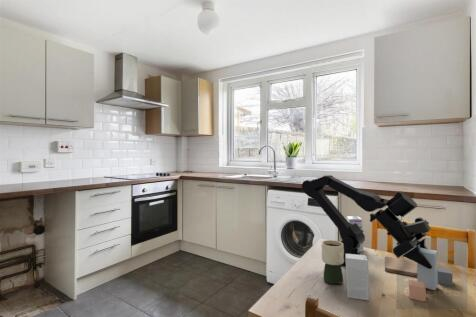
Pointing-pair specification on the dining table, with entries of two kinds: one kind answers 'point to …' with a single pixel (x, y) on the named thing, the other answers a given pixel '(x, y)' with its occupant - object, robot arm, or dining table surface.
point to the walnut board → (401, 266)
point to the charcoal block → (445, 276)
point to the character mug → (333, 260)
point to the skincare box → (357, 276)
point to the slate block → (428, 274)
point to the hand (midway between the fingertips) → (432, 265)
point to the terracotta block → (416, 290)
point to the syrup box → (359, 222)
